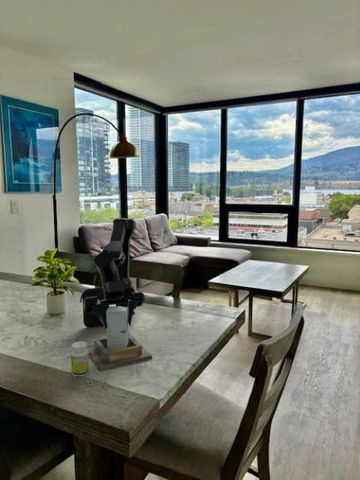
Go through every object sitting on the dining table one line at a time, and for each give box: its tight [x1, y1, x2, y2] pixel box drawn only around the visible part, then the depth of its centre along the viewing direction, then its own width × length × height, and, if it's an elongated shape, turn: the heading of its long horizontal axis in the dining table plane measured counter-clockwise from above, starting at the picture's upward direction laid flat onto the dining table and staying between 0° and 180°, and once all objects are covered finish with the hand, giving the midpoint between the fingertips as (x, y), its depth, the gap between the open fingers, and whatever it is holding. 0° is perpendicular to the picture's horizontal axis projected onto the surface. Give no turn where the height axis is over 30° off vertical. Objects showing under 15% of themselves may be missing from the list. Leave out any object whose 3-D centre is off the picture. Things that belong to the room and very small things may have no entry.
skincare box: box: [106, 305, 129, 349], centre depth 110 cm, size 6×4×12 cm
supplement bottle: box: [70, 340, 90, 377], centre depth 99 cm, size 5×5×8 cm
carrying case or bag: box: [79, 286, 110, 329], centre depth 132 cm, size 11×3×15 cm, turn 115°
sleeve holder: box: [87, 332, 153, 372], centre depth 111 cm, size 16×16×4 cm
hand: (118, 326), depth 109 cm, fingers closed on skincare box, 7 cm apart
